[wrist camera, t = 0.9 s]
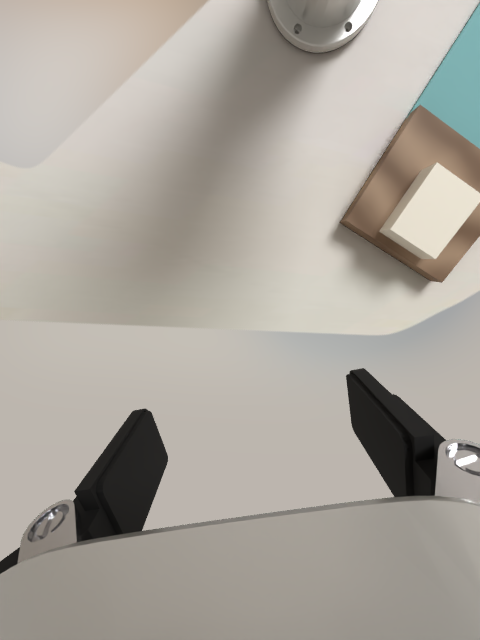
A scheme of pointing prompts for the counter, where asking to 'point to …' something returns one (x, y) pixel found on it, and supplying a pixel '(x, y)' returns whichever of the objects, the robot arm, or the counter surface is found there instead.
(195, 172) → the counter surface
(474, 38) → the mat
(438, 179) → the block
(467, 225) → the board
